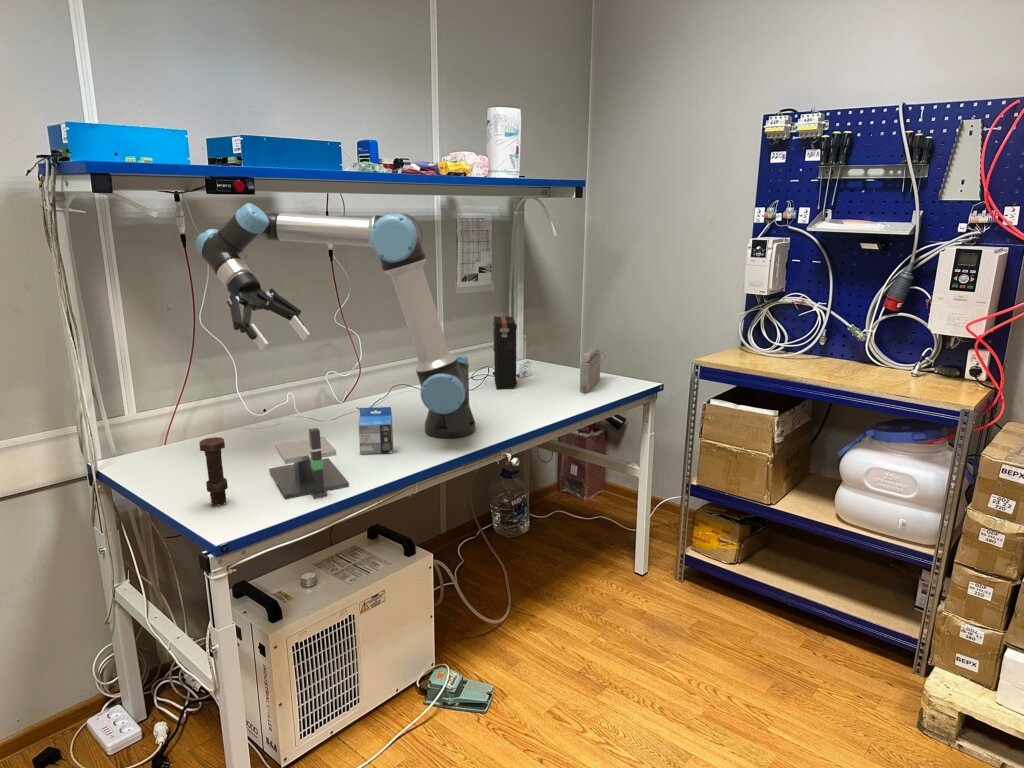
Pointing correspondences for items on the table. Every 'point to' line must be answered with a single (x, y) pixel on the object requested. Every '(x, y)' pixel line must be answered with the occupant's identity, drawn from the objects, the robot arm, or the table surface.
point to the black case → (504, 352)
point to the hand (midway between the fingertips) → (286, 342)
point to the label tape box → (375, 431)
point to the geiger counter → (590, 369)
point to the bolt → (215, 469)
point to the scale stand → (309, 473)
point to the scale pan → (302, 450)
